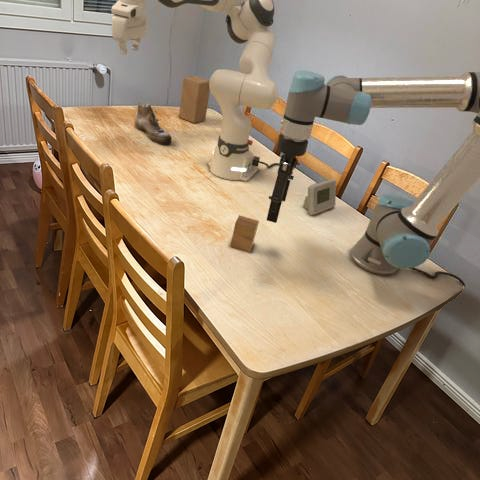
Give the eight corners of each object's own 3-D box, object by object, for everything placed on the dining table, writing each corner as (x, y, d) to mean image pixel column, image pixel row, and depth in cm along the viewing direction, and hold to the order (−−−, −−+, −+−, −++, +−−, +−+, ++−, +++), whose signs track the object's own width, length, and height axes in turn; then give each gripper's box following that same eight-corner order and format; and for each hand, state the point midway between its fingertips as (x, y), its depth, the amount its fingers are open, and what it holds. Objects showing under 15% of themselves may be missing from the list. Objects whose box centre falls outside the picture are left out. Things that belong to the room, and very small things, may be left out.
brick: (234, 238, 138) (239, 215, 134) (253, 244, 138) (259, 220, 133) (230, 246, 134) (235, 222, 130) (249, 252, 134) (255, 228, 129)
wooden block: (194, 123, 220) (199, 83, 210) (178, 117, 224) (183, 77, 213) (205, 120, 228) (211, 81, 218) (190, 114, 232) (195, 75, 221)
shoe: (175, 145, 192) (178, 118, 185) (151, 146, 186) (153, 118, 180) (154, 124, 209) (157, 98, 202) (132, 124, 203) (133, 97, 197)
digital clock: (309, 217, 160) (317, 191, 154) (294, 205, 166) (301, 179, 160) (340, 211, 169) (349, 186, 163) (324, 200, 175) (332, 175, 169)
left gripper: (136, 5, 157) (133, 46, 164) (108, 7, 140) (107, 53, 147) (152, 9, 156) (149, 50, 164) (127, 12, 139) (125, 58, 147)
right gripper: (287, 120, 121) (271, 188, 133) (270, 148, 100) (253, 227, 112) (314, 126, 120) (295, 195, 132) (302, 156, 99) (281, 235, 111)
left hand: (129, 51), depth 155 cm, fingers open, 8 cm apart
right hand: (276, 210), depth 122 cm, fingers open, 13 cm apart
